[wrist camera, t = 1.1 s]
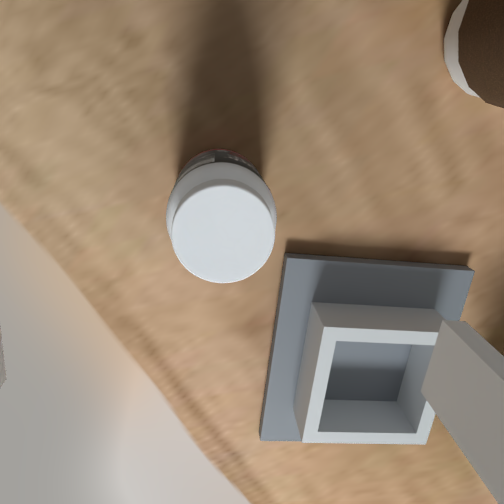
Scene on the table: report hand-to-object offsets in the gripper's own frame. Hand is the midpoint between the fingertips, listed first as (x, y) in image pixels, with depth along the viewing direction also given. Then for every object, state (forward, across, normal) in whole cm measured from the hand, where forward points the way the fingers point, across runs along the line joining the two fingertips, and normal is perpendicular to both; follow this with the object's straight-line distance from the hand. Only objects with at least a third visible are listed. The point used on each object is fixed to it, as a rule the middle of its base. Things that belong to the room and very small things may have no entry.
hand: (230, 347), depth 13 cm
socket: (+17, +12, -11) cm, 23 cm away
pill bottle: (+17, 0, +1) cm, 17 cm away
